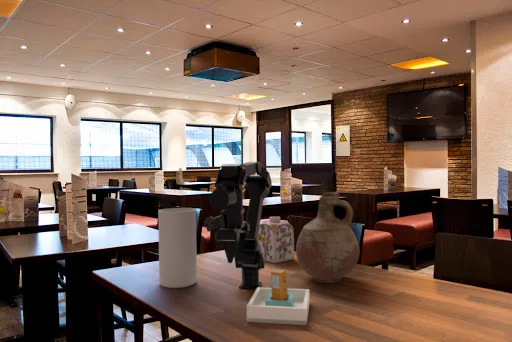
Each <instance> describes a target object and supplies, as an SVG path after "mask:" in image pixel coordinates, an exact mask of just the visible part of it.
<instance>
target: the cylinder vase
mask: <svg viewBox="0 0 512 342" xmlns="http://www.w3.org/2000/svg"><path fill="white" fill-rule="evenodd" d="M157 215H158V217H157V218H158V256H159V257H158V263H159V264H158V266H159V267H158V268H159V271H158V272H159V273H158V275H159V277H158V278H159V284H160V286H161V287H163V288H167V289H181V288H187V287H190V286H193V285H195V284H196V283H197V282H198V281H197V280H198V268H197V267H198V266H197V264H198V262H197V258H198V257H197V253H198V252H197V209H196V208H191V207H180V208H177V207H176V208H175V207H174V208H163V209H159V210H158V212H157Z"/></svg>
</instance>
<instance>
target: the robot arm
mask: <svg viewBox="0 0 512 342" xmlns="http://www.w3.org/2000/svg"><path fill="white" fill-rule="evenodd" d="M272 184H273V181H272V177H271V175H270V172H269V171H268V170H267V169H266V168H264V167H263V166H262V163H261V162H259V161H247V162H244V163H223V164H221V165H220V168H219V169H218V172H217V176H216V179H215V182H214V188H215V189H214V190H213V191H211V193H210V196H209V204H210V206H211V207H212V208H213V209H215V210H218V211H220V210H221V211H220V215H218V216H215V217H214V216H212V215H210V216H207V217H205V218H204V219H205V220H204V221H203V228H205V229H206V231H207V232H211V231H212V230H215V229H217V230H216V232H214V239H215V241H216V242H217V243H220V244H221V245H222V247H223V250H224V253H225V257H226V259H227V263H228V264H232V263H233V262H234V264H235V269H241V283H240V284H239V285H238V288H239V289H249V290H251V289H253V290H256V289H257V288H258V287H261V285H262V281H260V270H263V269H265V265H266V263H265V262H266V261H265V259H264V257H263V255H262V252H261V247H260V244H259V242H258V233H259V226H260V224H261V220H262V219H261V218H262V211H263V204H264V200H265V199H266V198H267V197H268V196H269V193H270V190H271V187H272ZM244 185H245V186H246V190H247V192H248V194H249V201H248V209H247V214H246V220H244V213H245V208H244V207H243V206H244V194H243V193H244V192H243V191H244V189H245V188H244ZM218 228H219V229H218Z"/></svg>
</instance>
